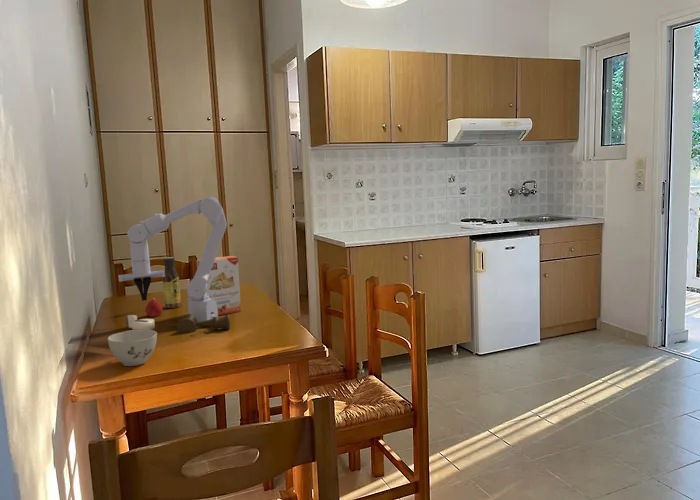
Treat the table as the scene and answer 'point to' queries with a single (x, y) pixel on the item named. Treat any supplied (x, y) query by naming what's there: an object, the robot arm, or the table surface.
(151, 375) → the table surface
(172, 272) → the sauce bottle
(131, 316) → the miniature toilet
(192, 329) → the kendama
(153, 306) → the onion
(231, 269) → the cracker box
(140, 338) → the white floral bowl
